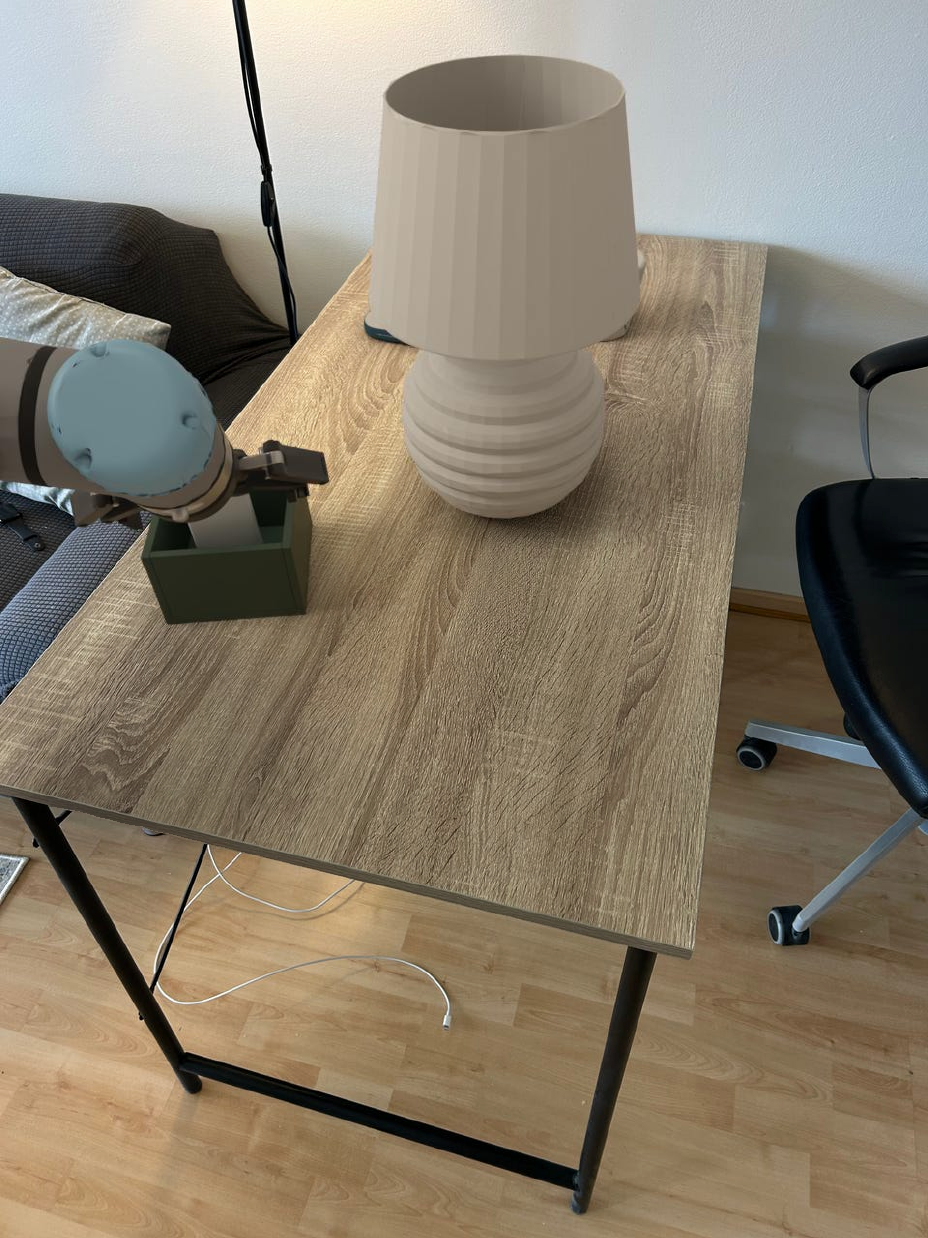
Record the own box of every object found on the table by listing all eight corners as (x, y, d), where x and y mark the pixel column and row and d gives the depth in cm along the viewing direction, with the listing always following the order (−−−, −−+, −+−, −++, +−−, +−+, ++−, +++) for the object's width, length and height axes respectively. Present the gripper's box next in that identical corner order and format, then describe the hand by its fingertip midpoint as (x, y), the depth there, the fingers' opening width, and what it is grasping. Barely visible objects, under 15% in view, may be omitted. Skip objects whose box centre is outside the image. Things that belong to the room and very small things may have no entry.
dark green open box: (166, 624, 88) (140, 557, 81) (187, 533, 97) (164, 467, 91) (305, 614, 88) (290, 547, 82) (312, 524, 97) (299, 458, 91)
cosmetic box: (265, 547, 94) (240, 452, 85) (269, 576, 91) (244, 480, 82) (206, 558, 93) (174, 463, 84) (208, 587, 90) (175, 492, 81)
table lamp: (566, 405, 111) (588, 31, 82) (655, 532, 95) (723, 117, 66) (368, 447, 107) (317, 65, 78) (425, 587, 90) (388, 167, 61)
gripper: (-12, 552, 57) (78, 568, 78) (372, 484, 61) (359, 517, 82) (-37, 436, 57) (60, 483, 78) (350, 375, 61) (343, 436, 82)
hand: (214, 500), depth 80 cm, fingers open, 13 cm apart
